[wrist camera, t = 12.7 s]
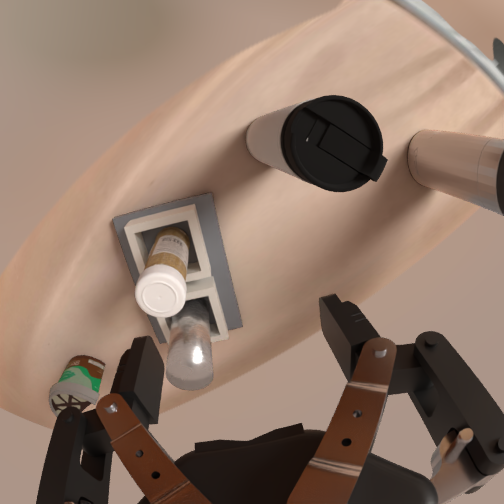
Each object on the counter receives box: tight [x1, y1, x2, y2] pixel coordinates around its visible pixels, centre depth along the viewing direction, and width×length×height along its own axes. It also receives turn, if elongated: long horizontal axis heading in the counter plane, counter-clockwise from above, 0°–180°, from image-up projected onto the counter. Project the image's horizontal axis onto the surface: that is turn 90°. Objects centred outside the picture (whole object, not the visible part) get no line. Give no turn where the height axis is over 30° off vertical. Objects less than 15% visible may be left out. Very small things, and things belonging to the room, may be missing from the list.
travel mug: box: [246, 95, 388, 192], centre depth 25 cm, size 6×7×20 cm
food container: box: [49, 355, 105, 417], centre depth 38 cm, size 12×6×10 cm, turn 131°
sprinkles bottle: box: [135, 227, 190, 318], centre depth 30 cm, size 5×5×14 cm
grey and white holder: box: [113, 192, 243, 345], centre depth 37 cm, size 13×20×4 cm, turn 11°
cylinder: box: [166, 297, 213, 390], centre depth 34 cm, size 5×5×13 cm
